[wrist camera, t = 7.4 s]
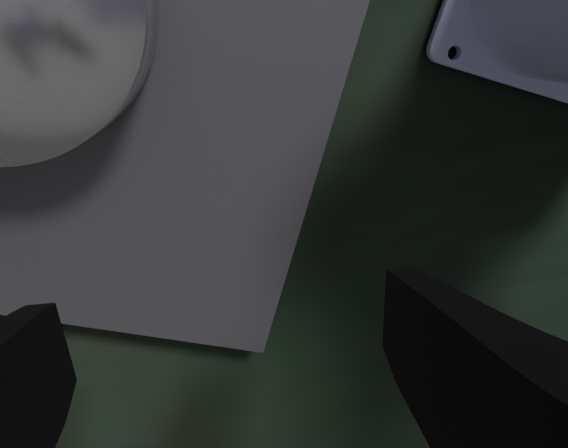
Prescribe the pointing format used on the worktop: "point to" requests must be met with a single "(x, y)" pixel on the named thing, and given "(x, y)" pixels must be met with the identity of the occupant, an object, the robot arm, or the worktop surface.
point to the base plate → (187, 178)
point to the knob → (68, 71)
